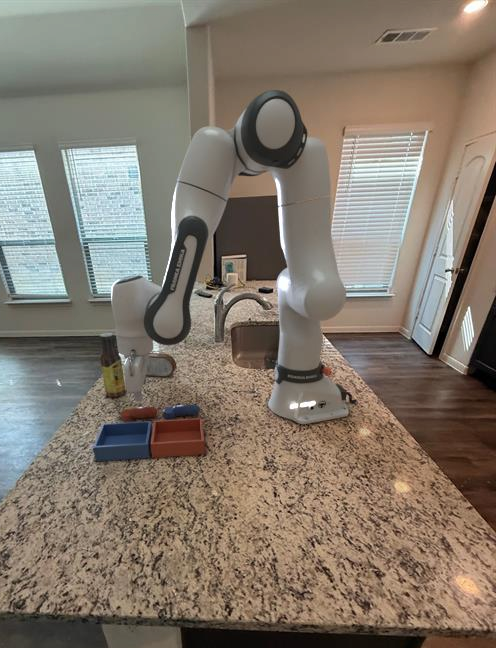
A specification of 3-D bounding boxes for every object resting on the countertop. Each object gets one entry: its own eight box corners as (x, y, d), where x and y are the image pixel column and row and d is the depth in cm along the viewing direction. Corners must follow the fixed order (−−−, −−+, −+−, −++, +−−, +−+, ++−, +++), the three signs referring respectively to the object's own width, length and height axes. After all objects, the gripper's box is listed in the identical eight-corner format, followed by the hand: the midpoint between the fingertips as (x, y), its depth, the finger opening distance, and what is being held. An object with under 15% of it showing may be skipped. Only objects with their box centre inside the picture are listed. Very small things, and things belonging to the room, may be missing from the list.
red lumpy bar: (158, 412, 91) (157, 403, 89) (157, 419, 87) (156, 410, 86) (122, 414, 90) (121, 405, 89) (120, 421, 87) (118, 412, 85)
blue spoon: (199, 410, 91) (199, 401, 90) (200, 417, 88) (199, 408, 87) (164, 412, 91) (163, 403, 89) (163, 419, 88) (162, 410, 86)
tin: (177, 374, 113) (175, 353, 109) (175, 378, 110) (173, 356, 106) (138, 372, 115) (135, 351, 112) (134, 376, 113) (131, 354, 109)
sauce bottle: (120, 399, 98) (110, 338, 89) (102, 397, 99) (90, 337, 90) (129, 389, 104) (120, 331, 95) (112, 387, 105) (101, 330, 96)
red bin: (202, 430, 83) (201, 417, 81) (204, 454, 74) (204, 440, 72) (155, 433, 82) (153, 420, 80) (152, 457, 73) (150, 444, 71)
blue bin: (152, 433, 82) (151, 420, 80) (149, 457, 73) (147, 444, 71) (104, 436, 81) (102, 423, 79) (95, 461, 73) (92, 447, 71)
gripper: (143, 359, 70) (149, 411, 76) (151, 331, 88) (155, 375, 94) (114, 360, 69) (122, 412, 76) (128, 331, 87) (134, 375, 94)
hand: (141, 391), depth 85 cm, fingers open, 8 cm apart
